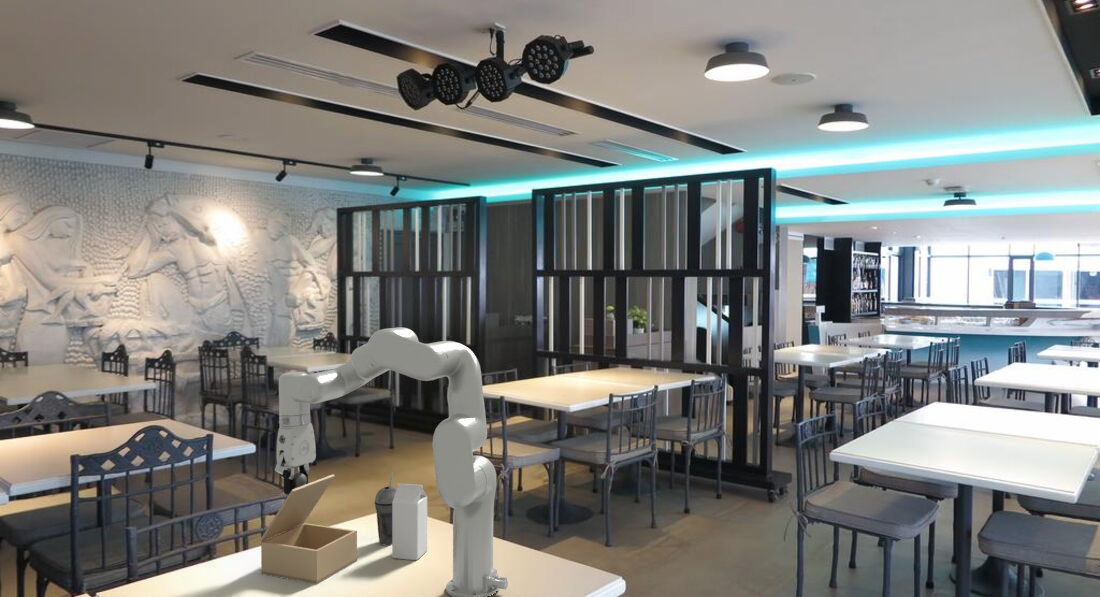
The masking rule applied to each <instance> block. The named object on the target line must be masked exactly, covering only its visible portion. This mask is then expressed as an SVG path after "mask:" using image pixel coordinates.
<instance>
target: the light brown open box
mask: <svg viewBox="0 0 1100 597" xmlns="http://www.w3.org/2000/svg"><path fill="white" fill-rule="evenodd" d="M260 542H261V541H260ZM260 544H261V545H260V548H261V549H260V550H261V552H260V553H261V554H260V555H261V556H260V557H261V563H260V564H261V566H260V571H261V572H260V573H261V575H264V574H266V576H270V575H272V577H275V576H277V577H276V578H281V577H282V578H281V579H286V578H288V579H287V580H292V579H293V580H292V581H297V580H299V581H298V582H303V583H308V582H309V583H308V584H313V583H314V584H315V585H318V584H319V583H322V582H323V581H325V580H326V579H328V578H330V577H332V576H334V575H335V574H338V573H339V572H340V571H342V570H344V569H346V568H348V567H349V566H352V565H353V564H354V563H356V562H358V530H355V529H349V528H341V527H334V526H327V525H320V524H319V525H318V524H313V523H306V522H304V523H302V524H300V525H298V526H296V527H293V528H291V529H289V530H287V531H284V532H282V533H280V534H278V535H275V536H273V537H271V538H269V539H266V540H264V541H262V542H261V543H260Z"/></svg>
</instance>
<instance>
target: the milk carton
mask: <svg viewBox="0 0 1100 597" xmlns="http://www.w3.org/2000/svg"><path fill="white" fill-rule="evenodd" d="M423 488H424V486H423V484H412V483H411V484H410V483H397V488H396V490H397V491H396V493H395V496H394V499H393V502H392V544H391V546H392V552H391V554H392V556H391V557H392V559H401V560H412V561H418V560H419V559H420V558H421V557H422V556H423V555H424V554H425V553H427V551H428V495H427V493H426V492H425V490H424V489H423Z"/></svg>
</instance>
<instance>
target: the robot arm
mask: <svg viewBox="0 0 1100 597" xmlns="http://www.w3.org/2000/svg"><path fill="white" fill-rule="evenodd" d="M390 370H391V371H393V372H395V373H399V374H401V375H404V376H407V377H409V378H412V379H416V380H419V381H425V382H428V381H434V380H437V379H440V378H444V377H446V378H448V385H447V396H446V397H447V398H446V400H447V405H448V418H445V419H444V420H442V421H441V422H440V423H439V424H438V425H437V426H436V428H435V430H434V433H433V436H432V437H433V438H432V454H433V462H434V463H433V465H434V473H435V474H434V475H435V484H436V489H437V493H438V496H439V498H440V499H441V501H442V502H443V503H444V504H445V505H447V506H448V507H450V508H453V514H452V520H453V521H452V579H449V581H448V582H447V584H446V586H445V588H446V589H445V590H446V593H447V595H449V596H451V597H486V596H490V595H492V594H494V593H495V592H496V591H498V589H499V590H500V589H501V590H504V591H506V590H507V588H508V587H509V582H508V578H507V577H506V576H499V574H498V569H497V568H494V512H495V511H494V508H495V507H494V506H495V504H494V503H495V498H496V496H495V495H496V490H497V489H496V488H497V471H496V468H495V466H494V464H493V463H492V461H491V460H489V459H488V458H487V457H485V456H483V455H474V452H476V451H477V450H479V449H480V448H481V447H483V446H484V445H485V443H486V441H487V438H488V425H487V418H486V417H487V416H486V407H485V398H484V391H483V389H484V388H483V380H482V371H481V364H480V362H479V359H478V358H477V356H476V355H475V353H474V352H473V351H472V350H471V349H470V348H469V347H467V346H466V345H464V344H462V343H460V342H456V341H453V340H443V341H436V342H430V343H424V342H421V341H419V338H418V336H417V334H416V333H415V332H414V331H413V330H411V329H410V328H407V327H402V326H401V327H400V326H399V327H398V326H397V327H392V328H391V327H390V328H388V327H387V328H383V329H379V330H377V331H376V332H374V333H373V334H372V335H371V336H370V337H369V339H368V341H367V343H364V344H363V345H360V346H358V347H357V348H355V349H354V350H353V351H352V353H351V355H350V360H348V361H347V362H345V363H343V364H341V365H340V366H337V367H336V368H332V369H330V370H324V371H318V372H313V373H306V372H303V371H301V372H299V371H293V372H291V371H290V372H286V373H285V372H284V373H282V374H280V376H279V377H278V409H279V410H278V414H279V415H278V416H279V420H278V424H279V428H278V431H277V440H276V465H275V468H274V471H275V472H277V473H278V474H279V475H280V477H281V478H282V479H283V492H284V495H289V494H290V492H291V491H292V490H293V489H295V488H296V483H295V479H294V478H293V477H294V474H295V468H297V473H302V474H304V475H305V476H306V479H307V481H306V484H309V473H310V468H311V467H312V465H313V463H314V461H315V460H316V458H317V457H316V456H317V454H316V452H317V451H316V449H317V448H316V437H315V433H314V426H313V424H312V423H311V404H312V405H315V404H319V403H323V402H326V401H331V400H334V399H338V398H341V397H343V396H345V395H347V394H349V393H351V392H353V391H355V390H357V389H359V388H361V387H362V386H364V385H365V384H367V383H369V382H370V381H371V380H373V379H374V378H377V377H378V376H380V375H383V374H384V373H386V372H388V371H390ZM498 592H499V591H498ZM494 595H495V594H494ZM492 596H493V595H492ZM490 597H491V596H490Z"/></svg>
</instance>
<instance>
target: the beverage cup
mask: <svg viewBox="0 0 1100 597" xmlns="http://www.w3.org/2000/svg"><path fill="white" fill-rule="evenodd" d="M393 474H394V472H393V471H390V477H389V478H390V479H389V486H384V487H381V489H379V490H378V491H377V493H376V496H375V498H374V507H375V510H376V512H375V513H376V523H377V533H378V540H379V544H380V545H382V546H392V502H393V499H394V496H395V493H396V491H397V488H394V487H393V486H392V483H393Z"/></svg>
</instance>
